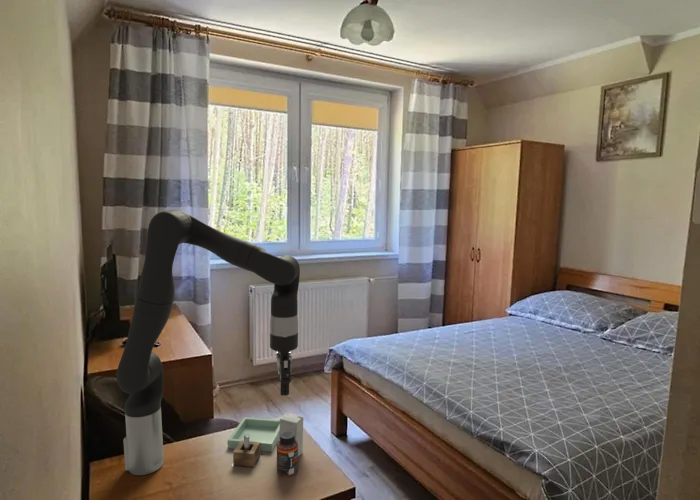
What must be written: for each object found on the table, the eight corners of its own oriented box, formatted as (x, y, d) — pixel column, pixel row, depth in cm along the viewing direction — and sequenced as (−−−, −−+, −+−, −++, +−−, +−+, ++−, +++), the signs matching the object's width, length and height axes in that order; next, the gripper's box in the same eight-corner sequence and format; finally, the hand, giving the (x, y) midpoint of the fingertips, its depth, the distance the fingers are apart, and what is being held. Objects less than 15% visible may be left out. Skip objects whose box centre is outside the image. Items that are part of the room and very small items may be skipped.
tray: (227, 449, 138) (227, 440, 137) (244, 425, 151) (244, 417, 151) (272, 453, 136) (272, 443, 135) (284, 428, 150) (284, 420, 149)
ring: (233, 465, 129) (233, 452, 128) (242, 451, 136) (242, 438, 135) (253, 466, 128) (253, 453, 128) (261, 452, 135) (261, 440, 135)
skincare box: (278, 456, 134) (278, 418, 133) (286, 448, 138) (286, 411, 137) (296, 461, 132) (296, 423, 130) (304, 453, 136) (303, 416, 134)
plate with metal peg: (231, 467, 129) (230, 441, 128) (240, 453, 136) (239, 428, 134) (254, 470, 128) (254, 443, 127) (262, 455, 135) (262, 430, 134)
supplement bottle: (297, 478, 124) (297, 440, 123) (276, 479, 124) (275, 441, 122) (298, 465, 130) (298, 428, 129) (278, 465, 130) (277, 429, 128)
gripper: (268, 323, 126) (268, 377, 129) (271, 340, 112) (270, 401, 115) (295, 322, 128) (294, 376, 130) (301, 338, 114) (300, 398, 116)
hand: (283, 387), depth 122 cm, fingers open, 8 cm apart
